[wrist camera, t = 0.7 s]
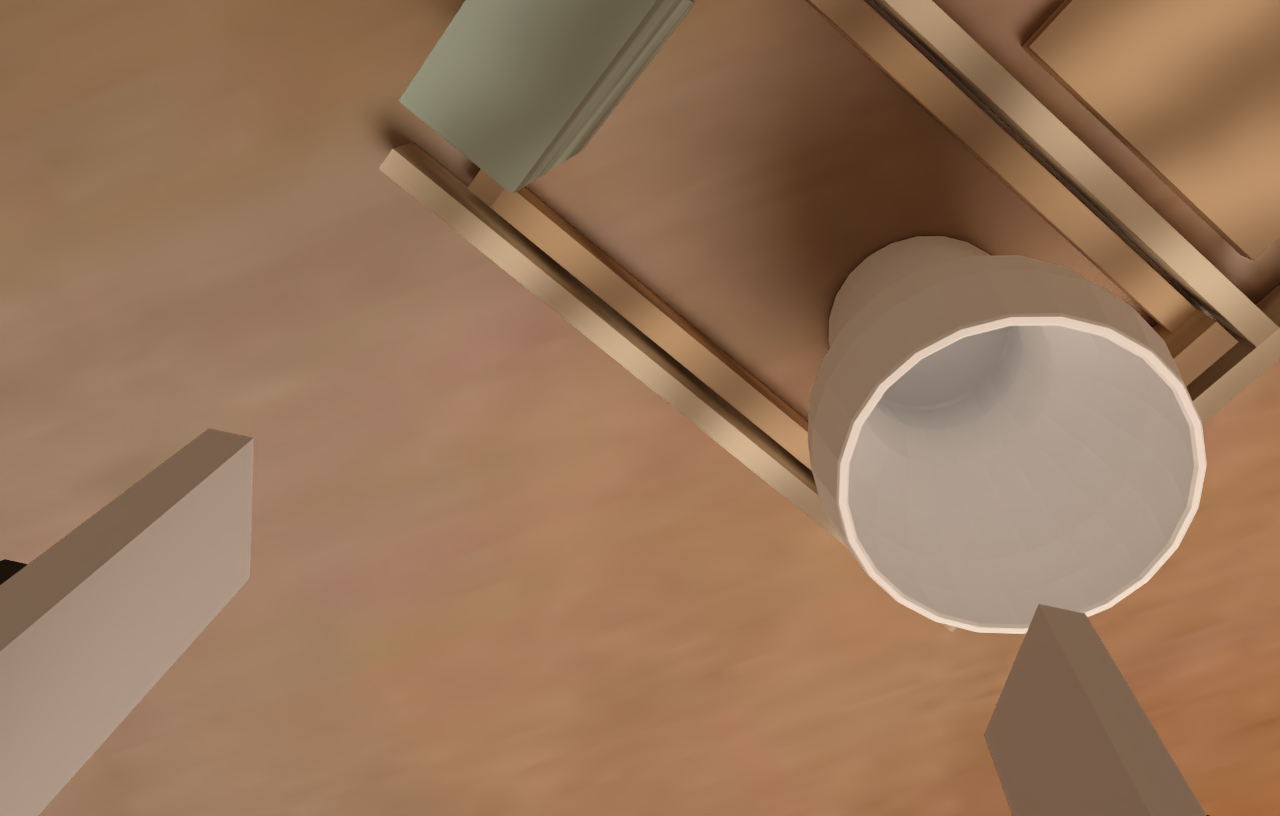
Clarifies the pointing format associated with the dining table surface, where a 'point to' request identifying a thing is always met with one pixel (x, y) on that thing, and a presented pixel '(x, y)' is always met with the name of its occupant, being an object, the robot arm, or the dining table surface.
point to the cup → (999, 436)
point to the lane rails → (1111, 90)
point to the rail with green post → (600, 77)
